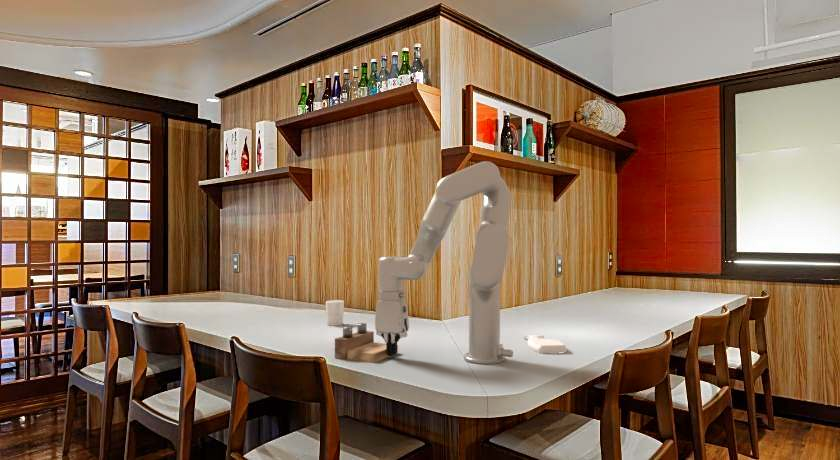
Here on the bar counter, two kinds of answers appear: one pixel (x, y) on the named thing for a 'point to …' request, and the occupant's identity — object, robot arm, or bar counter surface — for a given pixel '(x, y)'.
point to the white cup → (334, 312)
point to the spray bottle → (544, 344)
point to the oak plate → (369, 352)
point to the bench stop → (352, 340)
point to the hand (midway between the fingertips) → (391, 355)
